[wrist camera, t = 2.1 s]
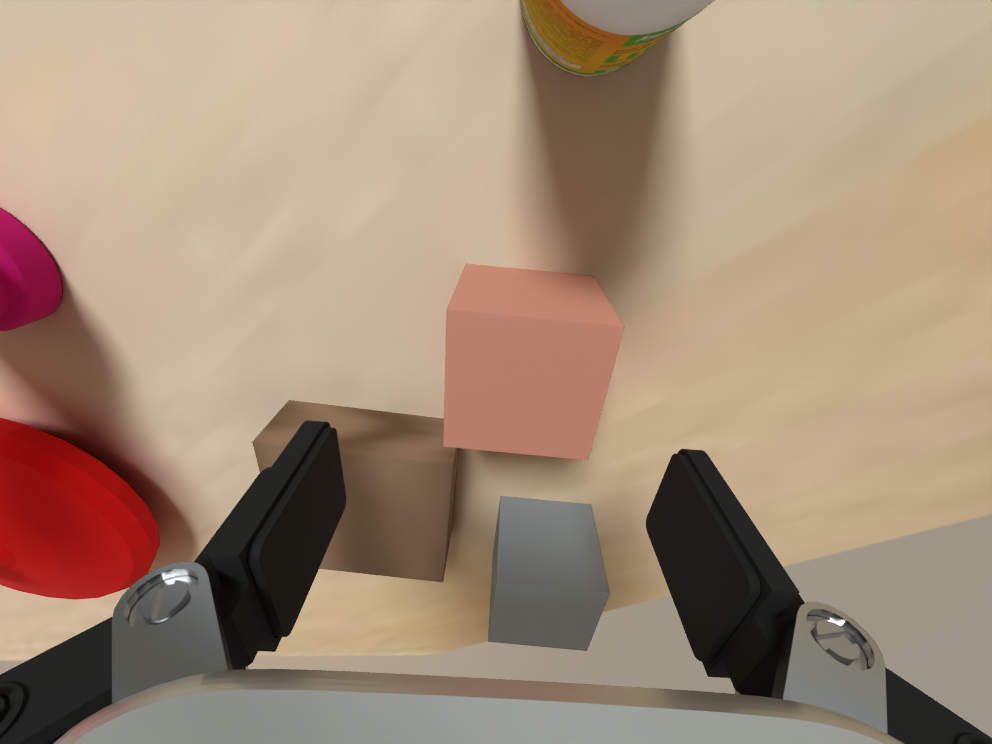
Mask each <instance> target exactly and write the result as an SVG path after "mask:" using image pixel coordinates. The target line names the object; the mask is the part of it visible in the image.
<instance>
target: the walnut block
mask: <svg viewBox="0 0 992 744" xmlns="http://www.w3.org/2000/svg"><path fill="white" fill-rule="evenodd" d="M307 420H309V421H322V422H329V424H330V426H331V428H335V429H336V431H337V436H338V443H339V450H340V457H341V463H342V470H343V477H344V484H345V491H346V506H345V509H344V512H343V514H342V516H341V519H340V521H339V523H338V526H337V528H336V530H335V533H334V535H333V537H332V539H331V542H330V544H329V546H328V549H327V551H326V553H325V556H324V558H323V560H322V562H321V565H320V567H319V569H328V570H337V571H346V572H355V573H364V574H373V575H382V576H391V577H400V578H409V579H419V580H428V581H437V582H443V579H444V573H445V567H446V561H447V555H448V549H449V543H450V537H451V529H452V518H453V507H454V496H455V485H456V474H457V463H458V452H459V448H454V447H443V439H444V419H441V418H433V417H425V416H416V415H408V414H400V413H391V412H383V411H375V410H367V409H358V408H350V407H342V406H333V405H325V404H317V403H308V402H300V401H292V400H289V401H288V402H287V403H286V404H285V406H284V407H283V408H282V409H281V410H280V411H279V412H278V413H277V415H276V416H275V417H274V418H273V419H272V420H271V421H270V423H269V424H268V425H267V426H266V427H265V428H264V429H263V430H262V432H261V433H260V434H259V435H258V436H257V437H256V438H255V439H254V441H253V446H254V450H255V454H256V458H257V462H258V466H259V470H260V473H261V472H262V471H263V470H264V469H266V468H268V467H272V465H273V464H274V462H275V461H276V460H277V458H278V457H279V456H280V454H281V453H282V451H283V450H284V449H285V447H286V446H287V444H288V443H289V442H290V440H291V439H292V438H293V436H294V435H295V433H296V432H297V431H298V429H299V428H300V426H301V425H302V424H303V423H304V422H305V421H307Z"/></svg>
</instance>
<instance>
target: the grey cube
mask: <svg viewBox="0 0 992 744" xmlns="http://www.w3.org/2000/svg"><path fill="white" fill-rule="evenodd" d="M609 594H610V592H609V587H608V583H607V578H606V573H605V568H604V564H603V559H602V554H601V549H600V545H599V540H598V535H597V530H596V526H595V521H594V516H593V511H592V507H591V504H580V503H570V502H559V501H548V500H538V499H527V498H516V497H506V496H500V504H499V512H498V519H497V527H496V535H495V542H494V550H493V563H492V581H491V598H490V616H489V634H488V642H499V643H509V644H520V645H531V646H542V647H552V648H563V649H573V650H584V651H587V649H588V647H589V644H590V642H591V639H592V636H593V634H594V632H595V629H596V626H597V624H598V621H599V619H600V616H601V614H602V611H603V609H604V606H605V604H606V601H607V599H608V596H609Z"/></svg>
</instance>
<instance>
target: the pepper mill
mask: <svg viewBox="0 0 992 744" xmlns="http://www.w3.org/2000/svg"><path fill="white" fill-rule="evenodd" d="M62 292H63V290H62V284H61V278H60V274H59V272H58V269H57V267H56V265H55V263H54V261H53V259H52V257H51V256H50V254H49V253H48V251H47V250H46V249H45V247H44V246H43V245H42V243H41V242H40V241H39V239H38V238H37V237H36V236H35V235H34V234H33V233H32V232H31V231H30V230H29V229H28V228H27V227H26V226H25V225H23V224H22V223H21V222H20V221H19V220H17V219H16V218H15V217H14V216H12V215H11V214H10V213H8V212H7V211H5V210H3V209H2V208H0V331H7V330H11V329H15V328H18V327H20V326H23V325H26V324H28V323H31V322H34V321H37V320H39V319H42V318H45V317H47V316H48V315H50V314H52V313H53V312H54V311H55V310H56V308H57V307H58V306H59V303H60V300H61V296H62Z"/></svg>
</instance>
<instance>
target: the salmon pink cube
mask: <svg viewBox="0 0 992 744" xmlns="http://www.w3.org/2000/svg"><path fill="white" fill-rule="evenodd" d="M623 330H624V325H623V323H622V322H621V320H620V318H619V317H618V315H617V313H616V312H615V310H614V309H613V307H612V305H611V304H610V302H609V300H608V299H607V297H606V295H605V294H604V292H603V290H602V289H601V287H600V285H599V284H598V282H597V281H596V279H595V277H594V276H586V275H576V274H566V273H556V272H545V271H535V270H525V269H515V268H505V267H494V266H484V265H474V264H466V265H465V267H464V270H463V272H462V274H461V277H460V279H459V281H458V284H457V286H456V289H455V291H454V293H453V296H452V298H451V300H450V303H449V305H448V307H447V317H446V358H445V399H444V439H443V447H454V448H464V449H475V450H485V451H496V452H506V453H517V454H527V455H538V456H548V457H559V458H569V459H580V460H588V459H589V455H590V452H591V448H592V444H593V440H594V437H595V433H596V429H597V426H598V422H599V418H600V415H601V411H602V407H603V404H604V400H605V396H606V393H607V389H608V385H609V382H610V378H611V374H612V371H613V367H614V363H615V360H616V356H617V352H618V349H619V345H620V341H621V338H622V334H623Z"/></svg>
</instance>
